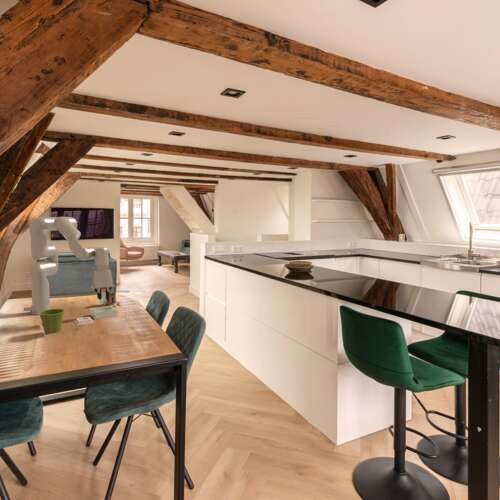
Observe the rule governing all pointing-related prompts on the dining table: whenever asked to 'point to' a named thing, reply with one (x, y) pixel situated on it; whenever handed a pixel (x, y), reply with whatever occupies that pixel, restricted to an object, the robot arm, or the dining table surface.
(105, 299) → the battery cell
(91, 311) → the white open box
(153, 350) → the dining table surface
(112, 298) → the multimeter
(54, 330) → the plant pot
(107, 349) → the dining table surface
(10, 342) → the dining table surface
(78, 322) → the checker cradle
